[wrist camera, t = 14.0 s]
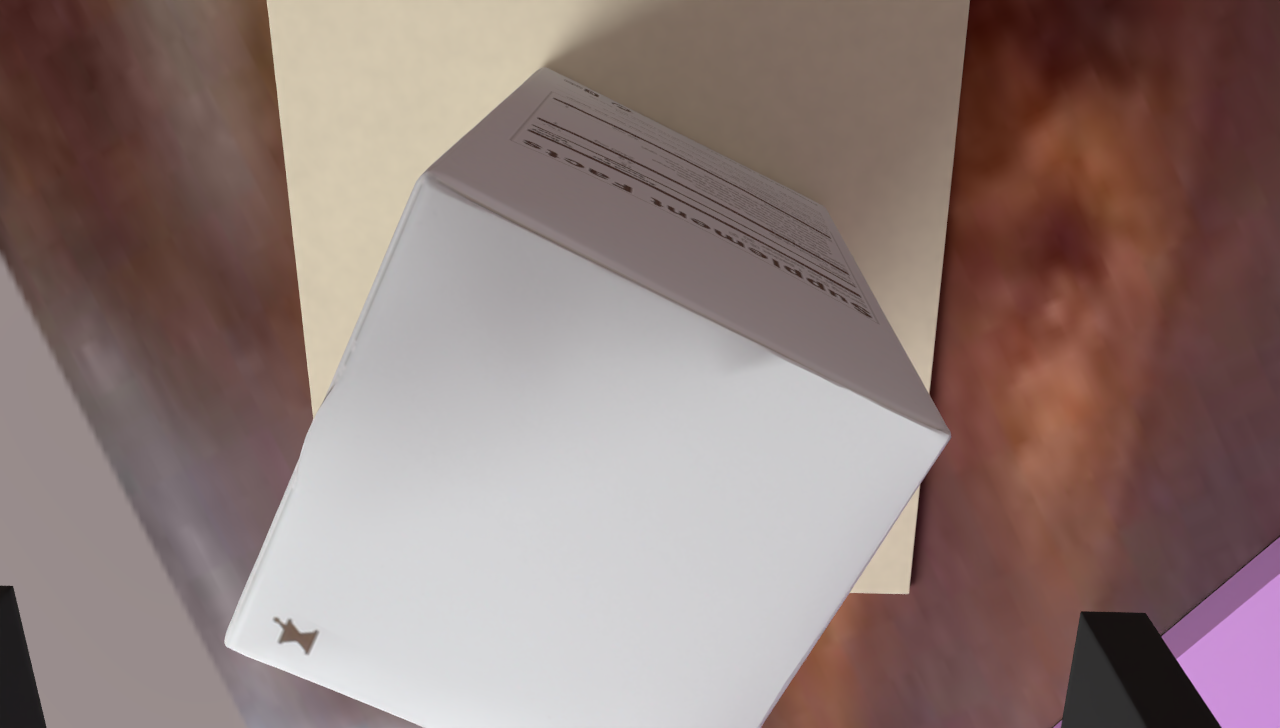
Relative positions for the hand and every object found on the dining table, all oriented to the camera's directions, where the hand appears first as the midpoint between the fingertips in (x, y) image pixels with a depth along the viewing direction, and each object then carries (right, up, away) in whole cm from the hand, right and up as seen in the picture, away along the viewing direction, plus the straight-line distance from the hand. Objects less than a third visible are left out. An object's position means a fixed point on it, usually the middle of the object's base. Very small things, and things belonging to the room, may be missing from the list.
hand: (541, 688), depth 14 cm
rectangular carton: (+1, +6, +17) cm, 19 cm away
